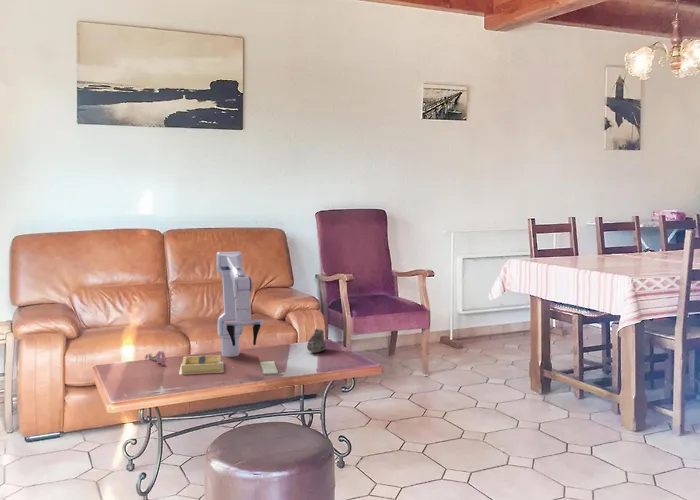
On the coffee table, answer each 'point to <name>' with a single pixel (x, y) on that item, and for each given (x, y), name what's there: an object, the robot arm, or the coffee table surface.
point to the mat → (268, 368)
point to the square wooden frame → (193, 366)
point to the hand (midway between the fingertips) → (244, 345)
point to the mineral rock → (316, 342)
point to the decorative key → (157, 357)
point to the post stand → (202, 361)
